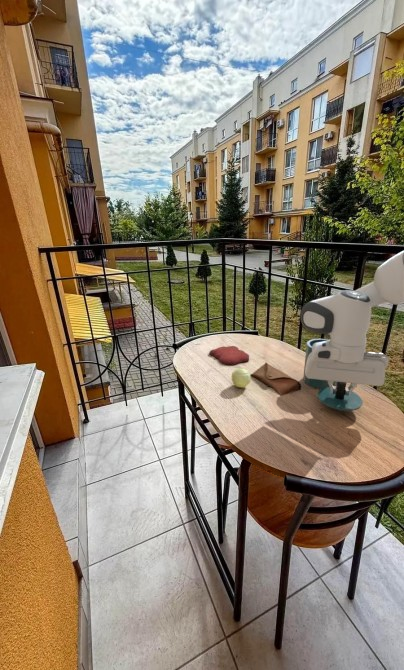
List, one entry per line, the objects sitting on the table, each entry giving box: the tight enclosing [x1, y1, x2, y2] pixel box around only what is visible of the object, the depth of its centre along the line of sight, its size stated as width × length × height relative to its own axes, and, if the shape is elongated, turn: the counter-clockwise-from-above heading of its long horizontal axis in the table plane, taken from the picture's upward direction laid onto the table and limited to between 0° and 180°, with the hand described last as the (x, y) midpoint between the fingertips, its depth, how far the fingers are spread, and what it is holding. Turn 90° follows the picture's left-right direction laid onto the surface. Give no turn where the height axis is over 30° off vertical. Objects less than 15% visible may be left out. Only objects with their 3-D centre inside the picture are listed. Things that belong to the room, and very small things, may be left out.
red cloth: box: [208, 345, 250, 366], centre depth 121 cm, size 18×14×2 cm
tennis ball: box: [231, 368, 252, 388], centre depth 97 cm, size 6×7×7 cm
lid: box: [317, 382, 363, 412], centre depth 82 cm, size 12×12×6 cm
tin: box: [302, 338, 337, 390], centre depth 96 cm, size 11×11×14 cm
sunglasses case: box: [250, 361, 302, 396], centre depth 99 cm, size 18×7×7 cm
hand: (340, 393), depth 82 cm, fingers closed on lid, 2 cm apart
